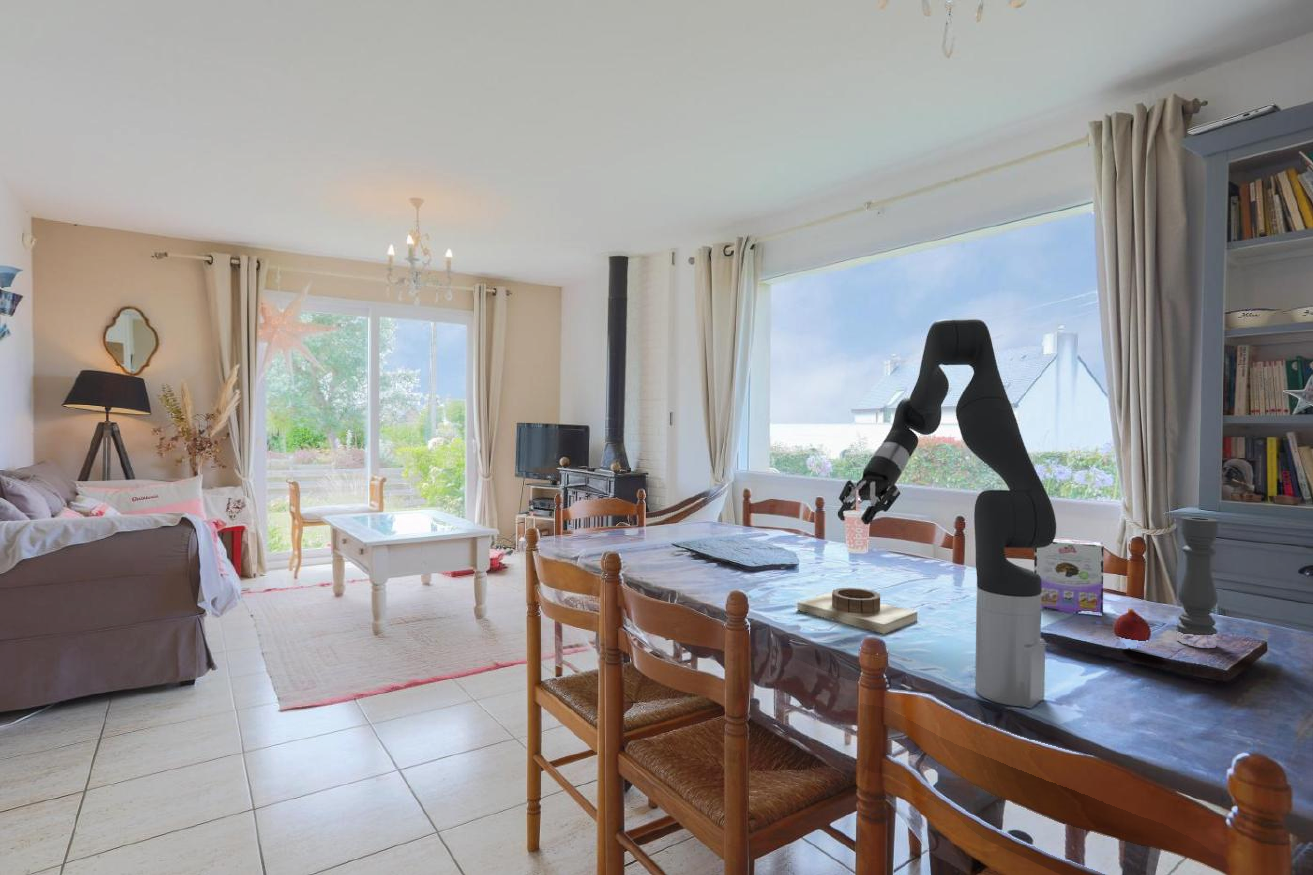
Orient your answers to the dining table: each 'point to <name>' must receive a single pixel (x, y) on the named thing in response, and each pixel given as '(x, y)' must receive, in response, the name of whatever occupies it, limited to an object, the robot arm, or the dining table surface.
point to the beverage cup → (856, 530)
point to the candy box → (1071, 575)
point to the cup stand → (858, 609)
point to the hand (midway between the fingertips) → (852, 520)
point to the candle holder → (1198, 576)
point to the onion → (1132, 627)
